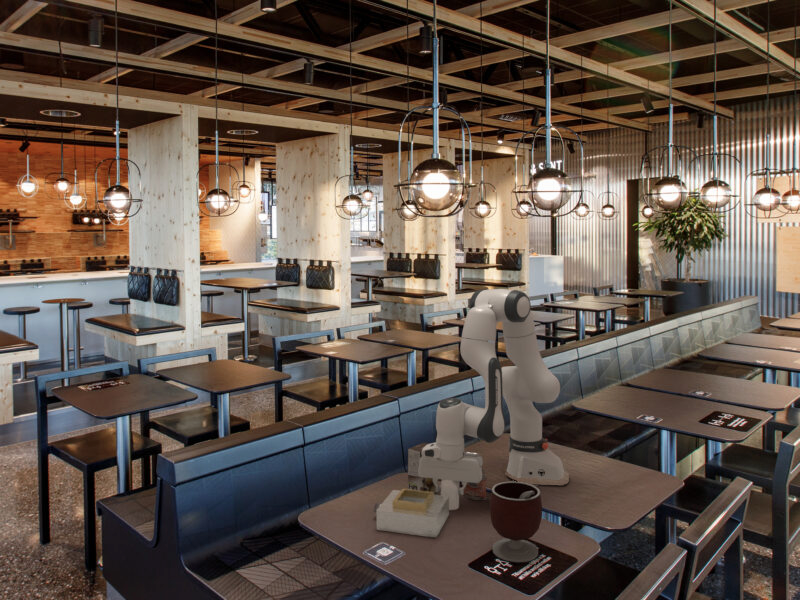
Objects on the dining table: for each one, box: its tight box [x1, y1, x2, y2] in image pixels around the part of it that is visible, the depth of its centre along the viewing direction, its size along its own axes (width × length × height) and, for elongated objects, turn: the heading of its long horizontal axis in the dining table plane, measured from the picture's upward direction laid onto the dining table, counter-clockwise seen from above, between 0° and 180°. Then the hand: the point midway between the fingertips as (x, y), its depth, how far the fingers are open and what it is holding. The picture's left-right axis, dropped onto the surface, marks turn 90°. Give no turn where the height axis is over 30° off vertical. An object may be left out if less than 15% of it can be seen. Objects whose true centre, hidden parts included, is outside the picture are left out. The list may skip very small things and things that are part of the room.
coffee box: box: [407, 442, 437, 494], centre depth 214 cm, size 9×6×16 cm
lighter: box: [462, 468, 488, 501], centre depth 211 cm, size 8×3×10 cm, turn 62°
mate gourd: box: [489, 481, 543, 563], centre depth 173 cm, size 16×14×20 cm
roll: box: [440, 479, 460, 511], centre depth 203 cm, size 6×12×6 cm
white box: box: [374, 488, 450, 539], centre depth 193 cm, size 21×16×8 cm
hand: (450, 492), depth 204 cm, fingers closed on roll, 6 cm apart
